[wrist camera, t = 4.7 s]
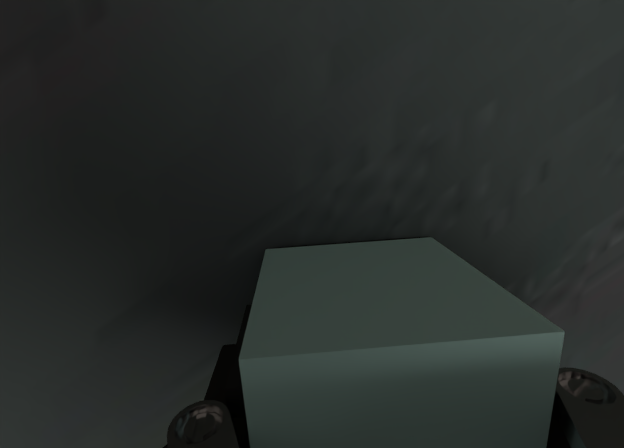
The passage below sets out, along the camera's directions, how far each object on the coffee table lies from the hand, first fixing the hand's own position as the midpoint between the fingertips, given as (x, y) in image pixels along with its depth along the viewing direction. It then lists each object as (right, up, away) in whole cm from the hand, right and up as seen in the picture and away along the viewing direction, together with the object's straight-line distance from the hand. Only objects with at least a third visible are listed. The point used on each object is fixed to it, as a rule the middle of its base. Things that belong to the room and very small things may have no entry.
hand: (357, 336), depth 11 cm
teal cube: (0, 0, +1) cm, 1 cm away
